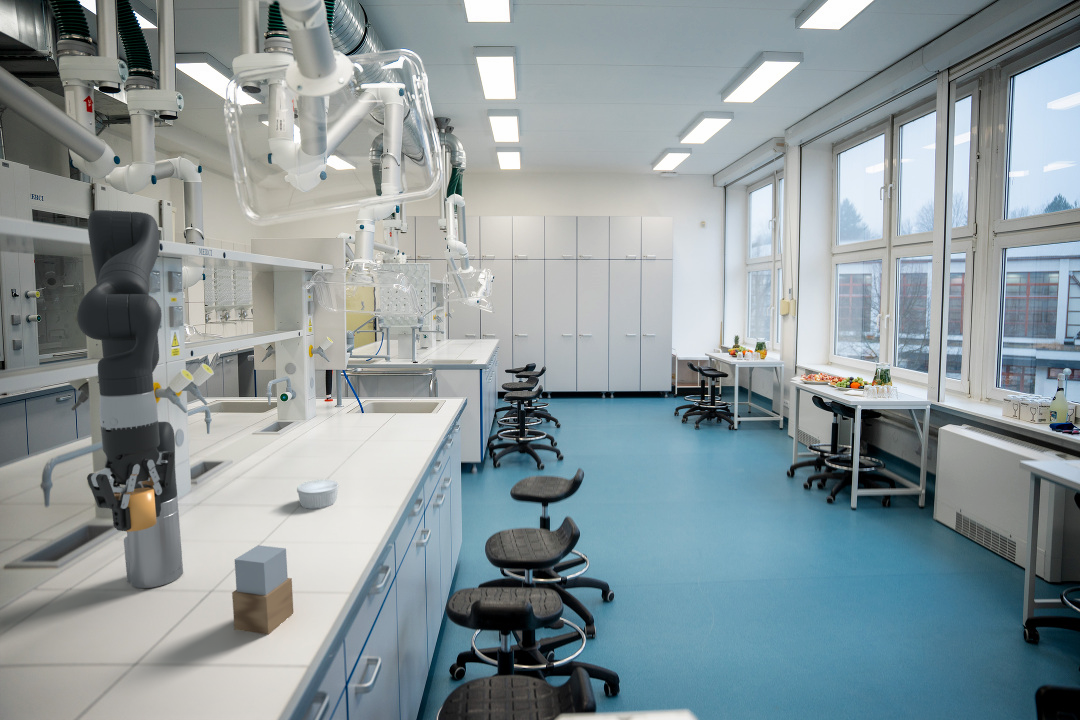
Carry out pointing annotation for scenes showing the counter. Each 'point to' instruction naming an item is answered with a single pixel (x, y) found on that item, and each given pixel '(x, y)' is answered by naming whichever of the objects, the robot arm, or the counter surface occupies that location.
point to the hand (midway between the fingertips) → (138, 522)
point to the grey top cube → (261, 570)
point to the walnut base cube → (263, 609)
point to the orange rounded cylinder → (142, 509)
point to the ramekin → (318, 493)
